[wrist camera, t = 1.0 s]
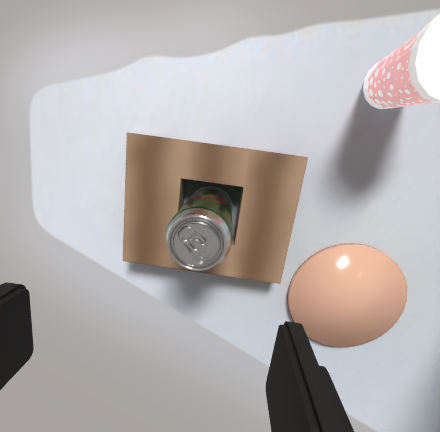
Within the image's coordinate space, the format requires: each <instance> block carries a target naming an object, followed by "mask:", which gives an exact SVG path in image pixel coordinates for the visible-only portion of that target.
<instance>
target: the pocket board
mask: <svg viewBox="0 0 440 432" xmlns="http://www.w3.org/2000/svg"><path fill="white" fill-rule="evenodd" d="M307 159H308V157H302V156H295V155H288V154H280V153H273V152H266V151H259V150H251V149H244V148H237V147H229V146H222V145H215V144H207V143H200V142H193V141H186V140H178V139H171V138H164V137H156V136H149V135H142V134H134V133H127V147H126V178H125V208H124V239H123V261H126V262H133V263H140V264H147V265H154V266H161V267H168V268H175V269H182V270H188V269H186V268H184V267H182V266H180V265H179V264H178V263H177V262H176V261H175V260H174V259H173V258H172V256H171V255H170V253H169V250H168V246H167V243H166V230H167V227H168V224H169V222H170V221H171V219H172V218H173V217H174V216H175V214H176V213H177V212H178V211H179V210H180V209H181V207H182V206H183V203H184V193H185V182H186V179H190V180H197V181H205V182H212V183H219V184H226V185H233V186H240V187H242V191H241V198H240V204H239V210H238V217H237V223H236V230H235V236H232V243H231V248H230V250H229V253H228V254H227V256H226V257H225V258H224V259H223V260H222V261H221V262H220V263H219V264H217V265H215V266H214V267H212V268H210V269H207V270H203V271H195V272H202V273H209V274H216V275H223V276H230V277H237V278H244V279H251V280H257V281H264V282H271V283H278V284H280V283H281V278H282V274H283V269H284V265H285V260H286V255H287V251H288V246H289V242H290V237H291V233H292V228H293V223H294V219H295V214H296V210H297V205H298V201H299V196H300V191H301V187H302V182H303V178H304V173H305V169H306V164H307ZM188 271H193V270H188Z"/></svg>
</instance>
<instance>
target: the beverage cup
mask: <svg viewBox="0 0 440 432" xmlns="http://www.w3.org/2000/svg"><path fill="white" fill-rule="evenodd" d="M363 92H364V96H365V99H366V100H367V102H368V103H369V104H370V105H371V106H373V107H375V108H377V109H390V108H397V107H405V106H412V105H419V104H427V103H435V104H440V14H439V15H437V16H436V17H435V18H434V19H433V20H432V21H431V22H430V23H429V24H428V25H427V26H425V27H424V28H423V29H422V30H421V32H420V33H418V34H417V35H416V36H414V37H413V38H411V39H410V40H409V41H407V42H406V43H405V44H403V45H402V46H400V47H399V48H398V49H396V50H395V51H393V52H392V53H391V54H389V55H388V56H386V57H385V58H384V59H382V60H381V61H380V62H378V63H377V64H376V65H375V66H374V67H372V68H371V69H370V70H369V72H368V74H367V76H366V78H365V79H364V85H363Z"/></svg>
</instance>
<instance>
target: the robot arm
mask: <svg viewBox="0 0 440 432" xmlns="http://www.w3.org/2000/svg"><path fill="white" fill-rule="evenodd" d="M32 353H33V337H32V323H31V311H30V297H29V291H28V290H26V287H25V286H24V285H21V284H14V283H4V284H1V285H0V390H1V389H2V388H3V387H4V385H5V384H6V383H7V382H8V381H9V380H10V379H11V378H12V377H13V376H14V375H15V374H16V373H17V372H18V371H19V370H20V369H21V367H22V366H23V365H24V364H25V363H26V362H27V361H28V360H29V359H30V357H31V355H32ZM266 396H267V403H268V410H269V417H270V424H271V431H272V432H354V431H353V428H352V426H351V423H350V421H349V419H348V416H347V414H346V412H345V410H344V407H343V405H342V403H341V400H340V398H339V396H338V393H337V391H336V389H335V386H334V384H333V382H332V380H331V377H330V375H329V373H328V371H327V369H326V368H325V367H324V366H319V365H318V362H317V360H316V357H315V355H314V352H313V350H312V347H311V345H310V342H309V340H308V337H307V335H306V332H305V330H304V328H303V325H302V324H301V323H295V322H287V321H286V322H285V323H284V325H279V328H278V332H277V337H276V341H275V346H274V350H273V354H272V359H271V363H270V368H269V372H268V376H267V381H266Z"/></svg>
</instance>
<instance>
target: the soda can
mask: <svg viewBox="0 0 440 432" xmlns="http://www.w3.org/2000/svg"><path fill="white" fill-rule="evenodd" d="M232 211H233V207H232V201H231V199H230V197H229V195H228V194H227V193H226V192H225V191H224V190H222V189H221V188H219V187H215V186H205V187H202V188H200V189H198V190H197V191H195V192H194V194H193V195H192V196H191V197H190V198H189V199H188V200H187V202H186V203H185V204H184V205H183V206H182V207H181V209H180V210H179V211H178V212H177V213H176V214H175V216H174V217H173V218H172V219H171V221H170V222H169V224H168V227H167V230H166V243H167V246H168V250H169V253H170V255H171V256H172V258H173V259H174V260H175V261H176V262H177V263H178V264H179V265H180V266H182V267H184V268H186V269H188V270H193V271H203V270H207V269H210V268H212V267H214V266H215V265H217V264H219V263H220V262H221V261H222V260H223V259H224V258H225V257H226V256H227V254H228V253H229V250H230V248H231V243H232Z"/></svg>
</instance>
